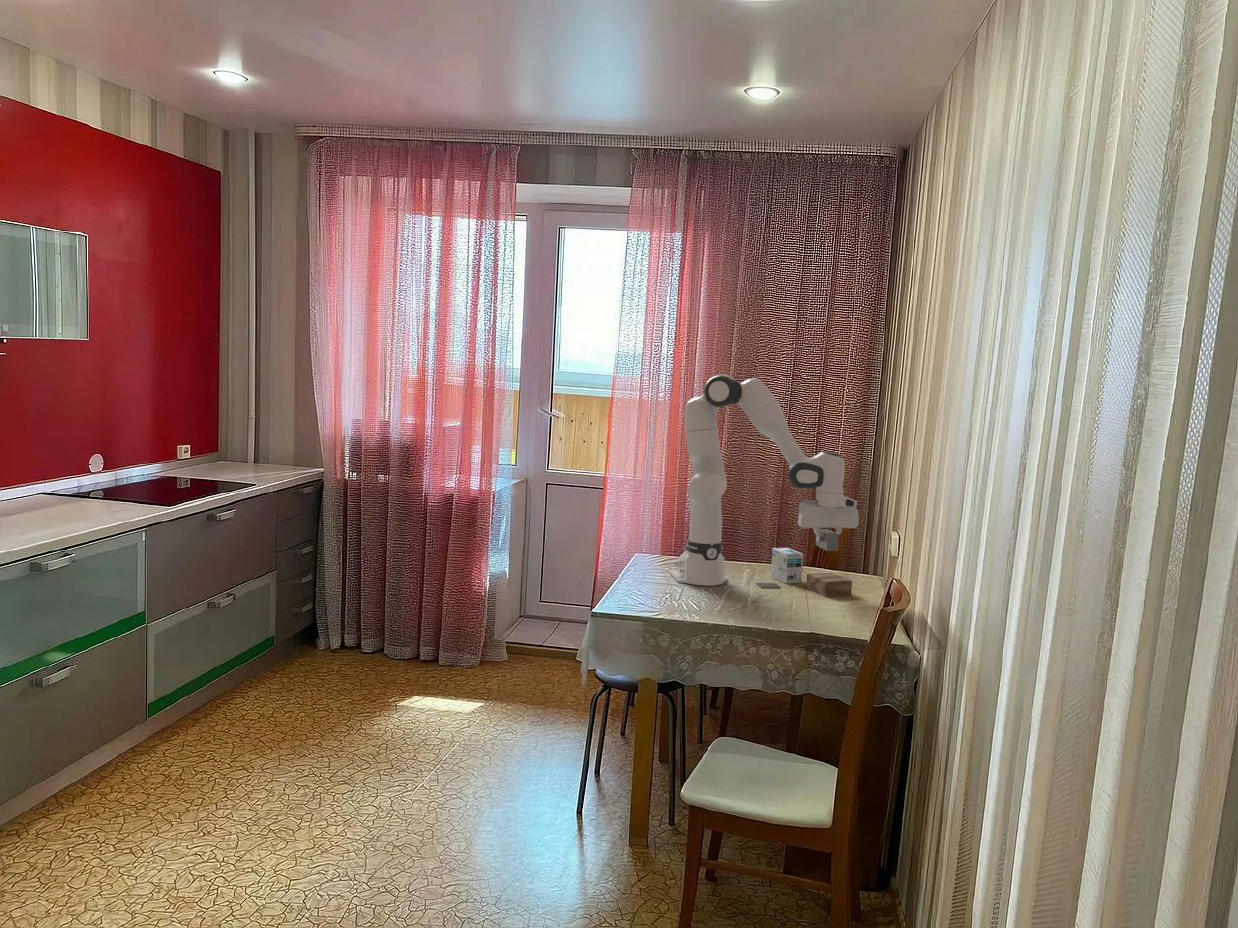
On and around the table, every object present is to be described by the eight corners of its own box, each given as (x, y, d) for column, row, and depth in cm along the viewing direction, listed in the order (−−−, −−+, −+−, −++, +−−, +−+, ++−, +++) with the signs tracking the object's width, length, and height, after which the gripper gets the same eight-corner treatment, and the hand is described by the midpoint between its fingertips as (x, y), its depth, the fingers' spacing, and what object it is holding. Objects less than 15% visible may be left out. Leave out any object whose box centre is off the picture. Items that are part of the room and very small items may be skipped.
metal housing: (826, 550, 307) (827, 534, 306) (815, 544, 316) (816, 528, 316) (838, 550, 307) (839, 534, 307) (826, 544, 317) (827, 529, 316)
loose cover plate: (755, 585, 322) (755, 582, 322) (774, 585, 323) (775, 582, 323) (760, 589, 316) (761, 586, 316) (780, 589, 317) (780, 587, 317)
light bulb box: (802, 583, 326) (804, 553, 325) (785, 584, 323) (787, 553, 322) (785, 576, 336) (787, 546, 335) (769, 577, 333) (771, 547, 332)
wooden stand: (806, 588, 319) (807, 573, 318) (831, 586, 322) (832, 572, 322) (825, 596, 308) (826, 582, 307) (851, 595, 311) (852, 580, 310)
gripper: (802, 501, 305) (800, 542, 307) (861, 501, 309) (859, 542, 310) (796, 498, 312) (794, 539, 313) (854, 498, 315) (851, 539, 316)
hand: (827, 540), depth 312 cm, fingers closed on metal housing, 4 cm apart
